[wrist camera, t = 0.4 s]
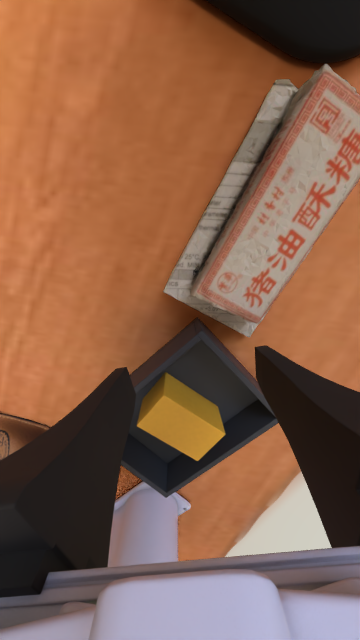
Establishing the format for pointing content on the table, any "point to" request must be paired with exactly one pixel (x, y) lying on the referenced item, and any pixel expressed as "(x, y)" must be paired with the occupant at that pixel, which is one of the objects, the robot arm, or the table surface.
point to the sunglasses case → (17, 433)
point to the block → (181, 417)
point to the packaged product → (272, 201)
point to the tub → (213, 384)
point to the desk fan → (302, 26)
